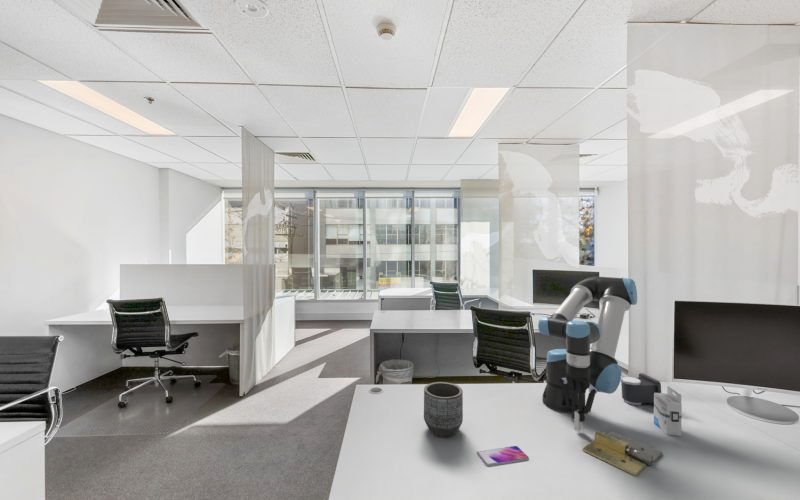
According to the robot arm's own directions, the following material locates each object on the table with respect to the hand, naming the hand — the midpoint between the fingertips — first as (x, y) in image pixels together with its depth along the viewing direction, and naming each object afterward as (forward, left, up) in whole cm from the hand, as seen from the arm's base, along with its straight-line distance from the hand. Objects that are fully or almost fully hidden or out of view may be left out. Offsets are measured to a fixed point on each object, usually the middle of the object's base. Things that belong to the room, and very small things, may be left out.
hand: (578, 429), depth 118 cm
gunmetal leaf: (+15, +4, -1) cm, 15 cm away
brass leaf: (+14, -5, -1) cm, 15 cm away
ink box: (+18, +30, -2) cm, 34 cm away
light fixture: (+3, +47, -2) cm, 47 cm away
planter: (-29, -39, -1) cm, 49 cm away
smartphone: (-7, -34, -2) cm, 35 cm away
